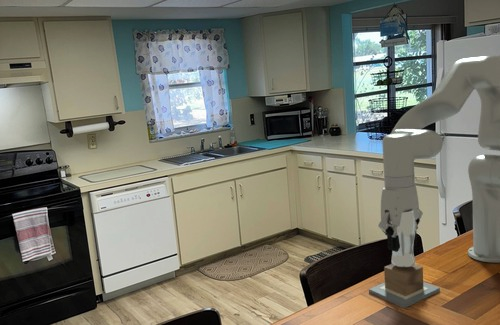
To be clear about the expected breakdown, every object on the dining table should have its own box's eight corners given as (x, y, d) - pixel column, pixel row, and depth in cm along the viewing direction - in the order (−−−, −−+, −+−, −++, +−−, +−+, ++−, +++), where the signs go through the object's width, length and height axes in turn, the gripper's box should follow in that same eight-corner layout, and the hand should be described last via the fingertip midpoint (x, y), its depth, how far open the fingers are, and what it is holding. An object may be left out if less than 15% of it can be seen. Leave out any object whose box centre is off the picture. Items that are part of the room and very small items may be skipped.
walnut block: (402, 280, 130) (401, 259, 129) (423, 288, 124) (422, 266, 123) (385, 287, 127) (384, 266, 126) (405, 296, 121) (404, 274, 120)
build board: (403, 277, 134) (403, 274, 134) (439, 291, 124) (439, 287, 124) (369, 292, 127) (368, 288, 127) (404, 308, 117) (403, 304, 117)
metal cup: (418, 267, 120) (416, 212, 118) (391, 268, 122) (388, 213, 119) (415, 257, 127) (412, 204, 124) (388, 258, 128) (385, 205, 126)
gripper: (410, 173, 128) (412, 235, 131) (364, 185, 119) (368, 252, 122) (433, 176, 122) (435, 242, 125) (387, 189, 113) (390, 259, 116)
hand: (402, 246), depth 123 cm, fingers closed on metal cup, 6 cm apart
